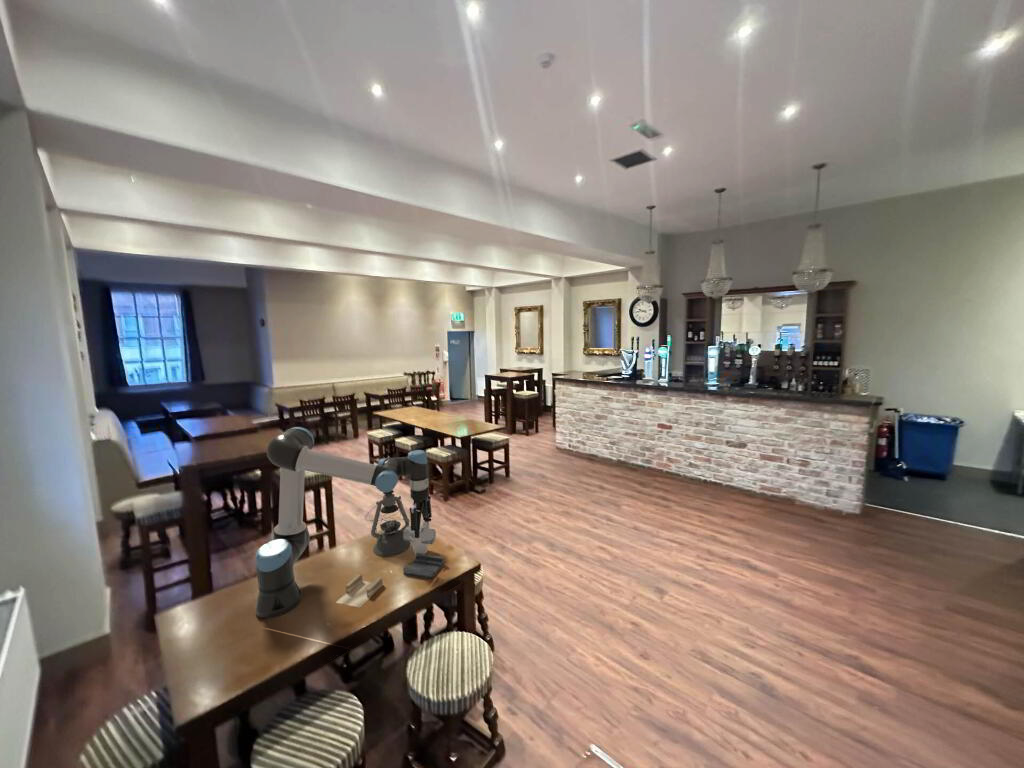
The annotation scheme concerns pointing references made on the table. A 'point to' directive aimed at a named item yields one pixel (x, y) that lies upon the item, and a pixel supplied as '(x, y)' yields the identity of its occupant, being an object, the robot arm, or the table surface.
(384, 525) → the lantern
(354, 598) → the bracket
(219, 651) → the table surface
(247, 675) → the table surface
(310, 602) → the table surface
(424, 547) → the cup
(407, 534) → the grey metal cylinder
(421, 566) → the v block
